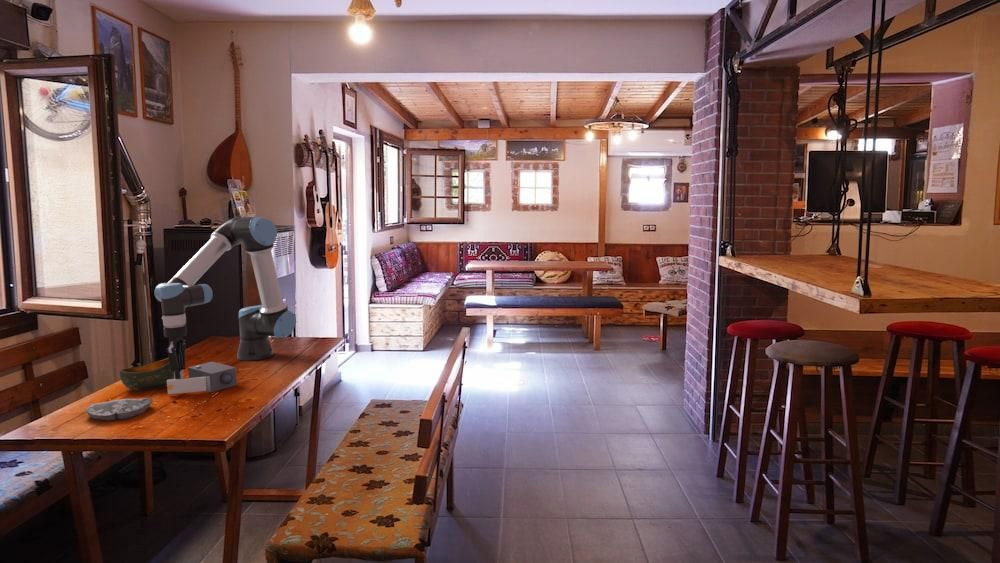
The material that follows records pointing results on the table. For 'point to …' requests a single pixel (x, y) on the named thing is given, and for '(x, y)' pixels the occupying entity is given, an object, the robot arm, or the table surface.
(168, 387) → the door
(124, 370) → the cup
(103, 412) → the brain slice
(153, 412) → the table surface
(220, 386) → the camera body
